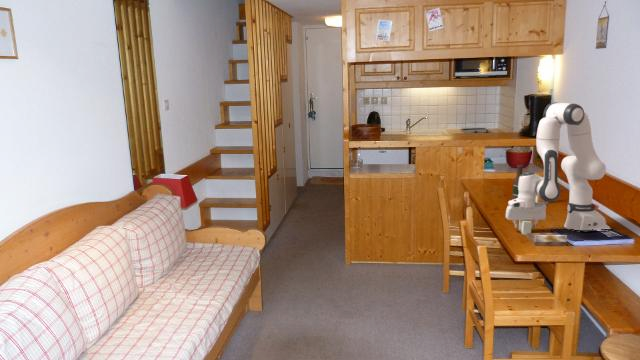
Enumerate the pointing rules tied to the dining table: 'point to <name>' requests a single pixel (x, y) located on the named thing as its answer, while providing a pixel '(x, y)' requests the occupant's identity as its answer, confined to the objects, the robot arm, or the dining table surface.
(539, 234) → the shelf
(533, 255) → the dining table surface
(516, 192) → the beer bottle
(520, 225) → the carton
